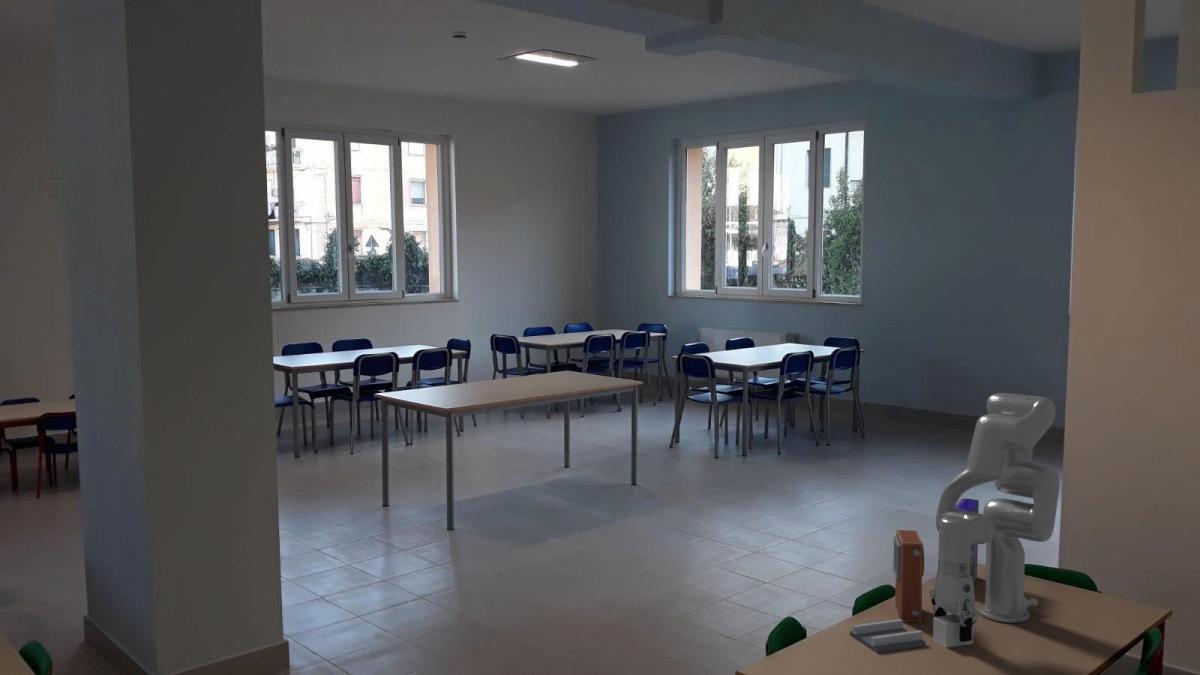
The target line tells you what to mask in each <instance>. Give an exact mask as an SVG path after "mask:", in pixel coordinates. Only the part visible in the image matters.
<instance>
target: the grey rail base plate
mask: <svg viewBox="0 0 1200 675" xmlns="http://www.w3.org/2000/svg"><path fill="white" fill-rule="evenodd" d="M903 623H904V621H903V620H901V619H900V618H899V619H898V618H897V619H890V620H885V621H884V620H883V621H877V622H870V623H863V624H854V625H853V626H852V630H850V631H849V636H851V637H852V638H854V639H856V640H857V641H858V642H860V643H861V644H863V645H864V646H866V647H867V648H869V649H870V648H871V650H872V651H873V650H874V651H873V652H874V653H876V654H877V653H879V652H880V653H886V652H892V651H899V650H905V649H906V650H907V649H912V648H920V647H926V645H927V644H926V643H927V641H925V640H924V639H923V631H922V630H920V629H919V630H912V631H908V630H907V629H905V628H904V625H903Z"/></svg>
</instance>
